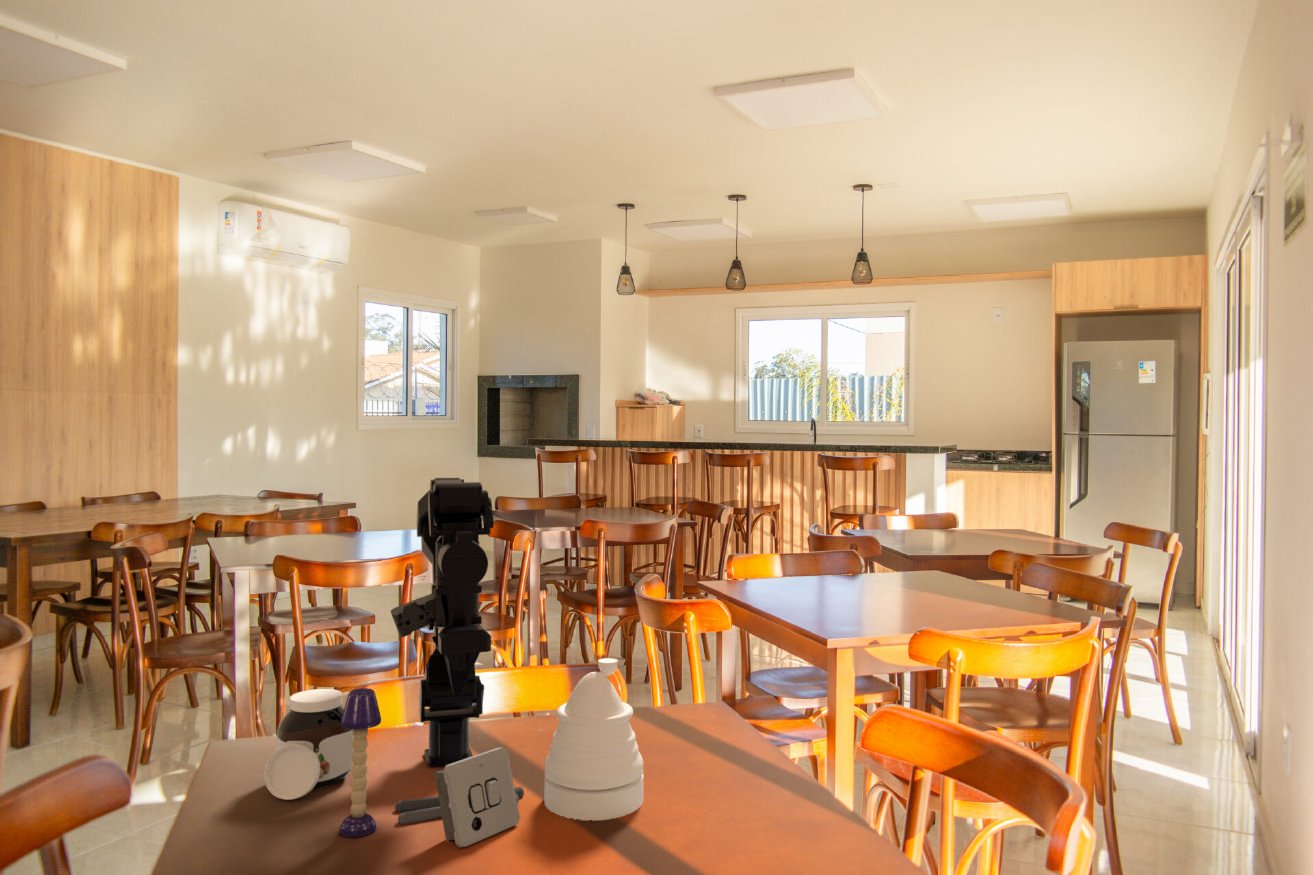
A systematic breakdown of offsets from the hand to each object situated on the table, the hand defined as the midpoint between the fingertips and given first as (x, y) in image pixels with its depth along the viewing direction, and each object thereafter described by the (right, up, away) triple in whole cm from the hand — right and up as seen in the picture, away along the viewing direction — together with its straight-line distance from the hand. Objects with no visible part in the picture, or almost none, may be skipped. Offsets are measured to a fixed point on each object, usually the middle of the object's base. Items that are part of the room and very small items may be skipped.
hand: (456, 692), depth 125 cm
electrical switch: (+5, -13, -13) cm, 19 cm away
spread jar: (-20, -13, +2) cm, 24 cm away
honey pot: (+19, -13, -3) cm, 23 cm away
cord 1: (+1, -13, -4) cm, 14 cm away
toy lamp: (-9, -13, -13) cm, 20 cm away
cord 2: (+2, -13, -7) cm, 15 cm away
